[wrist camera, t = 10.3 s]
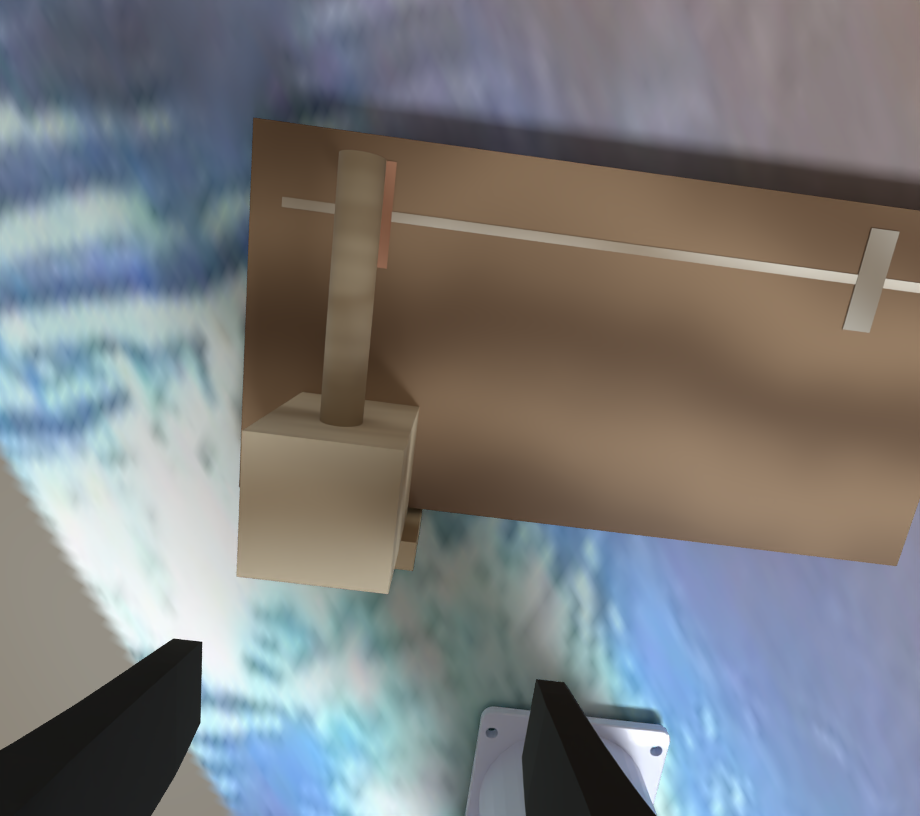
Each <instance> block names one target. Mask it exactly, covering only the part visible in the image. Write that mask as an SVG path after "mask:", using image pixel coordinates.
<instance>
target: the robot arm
mask: <svg viewBox="0 0 920 816" xmlns="http://www.w3.org/2000/svg"><path fill="white" fill-rule="evenodd" d="M201 675H202V642H199V641H190V640H181V639H172V640H171V641H169V642H168V643H166V644H165V645H163V646H162V647H160V648H159V649H157V650H156V651H154V652H153V653H151V654H150V655H148V656H147V657H145V658H144V659H142V660H141V661H139V662H138V663H136V664H135V665H134V666H132V667H131V668H129V669H128V670H126V671H125V672H123V673H122V674H120V675H119V676H117V677H116V678H114V679H113V680H112V681H110V682H109V683H107V684H105V685H104V686H102V687H101V688H100V689H98V690H96V691H95V692H93V693H92V694H90V695H89V696H87V697H86V698H84V699H83V700H81V701H80V702H78V703H77V704H75V705H74V706H72V707H71V708H69V709H67V710H66V711H64V712H62V713H61V714H59V715H58V716H56V717H54V718H53V719H51V720H49V721H48V722H46V723H45V724H43V725H41V726H40V727H38V728H37V729H35V730H33V731H32V732H30V733H28V734H27V735H25V736H23V737H22V738H20V739H19V740H17V741H15V742H14V743H12V744H10V745H9V746H7V747H5V748H3V749H2V750H0V816H151V815H152V813H153V812H154V810H155V808H156V807H157V805H158V803H159V802H160V800H161V798H162V797H163V795H164V793H165V792H166V790H167V789H168V787H169V785H170V783H171V782H172V780H173V778H174V777H175V775H176V773H177V771H178V769H179V767H180V765H181V763H182V761H183V759H184V757H185V755H186V753H187V751H188V748H189V746H190V744H191V742H192V740H193V738H194V735H195V733H196V731H197V729H198V727H199V725H200V717H201ZM489 728H495V730H492V731H490V730H487V729H489ZM669 743H670V736H669V734H668V732H667V730H666V728H665V727H663V726H662V725H658V724H649V723H640V722H631V721H622V720H613V719H604V718H595V717H586V715H585V714H584V712H583V711H582V709H581V708H580V706H579V704H578V703H577V701H576V700H575V698H574V696H573V695H572V693H571V692H570V690H569V688H568V687H567V686H566V684H565V683H564V682H556V681H547V680H538V679H536V683H535V689H534V694H533V699H532V705H531V710H522V709H513V708H504V707H495V706H494V707H488V708H486V709H485V710H484V711H483V712H482V714H481V720H480V726H479V732H478V738H477V744H476V750H475V756H474V762H473V769H472V775H471V781H470V787H469V793H468V799H467V805H466V812H465V816H657V814H656V811H655V809H654V806H653V805H654V801H655V797H656V793H657V789H658V786H659V782H660V778H661V774H662V770H663V766H664V762H665V759H666V755H667V751H668V747H669ZM654 746H657V747H655V748H652V747H654Z"/></svg>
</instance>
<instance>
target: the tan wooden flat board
mask: <svg viewBox="0 0 920 816" xmlns="http://www.w3.org/2000/svg"><path fill="white" fill-rule="evenodd" d="M341 150H357V151H363V152H368V153H372V154H376V155H379V156H381V157H383V158H385V159H386V160H387V163H386V174H385V185H384V196H383V207H382V218H381V229H380V240H379V250H378V261H377V272H376V283H375V294H374V305H373V316H372V327H371V338H370V349H369V360H368V371H367V382H366V393H365V400H370V401H378V402H385V403H393V404H401V405H409V406H417V407H419V415H418V424H417V432H416V441H415V450H414V459H413V467H412V476H411V485H410V493H409V502H408V507H410V508H418V509H426V510H435V511H443V512H451V513H460V514H468V515H476V516H485V517H493V518H501V519H510V520H518V521H526V522H534V523H543V524H551V525H559V526H568V527H576V528H584V529H593V530H601V531H609V532H618V533H626V534H634V535H643V536H651V537H659V538H667V539H676V540H684V541H692V542H701V543H709V544H717V545H726V546H734V547H742V548H751V549H759V550H767V551H775V552H784V553H792V554H800V555H809V556H817V557H825V558H834V559H842V560H850V561H859V562H867V563H875V564H883V565H892V566H897V564H898V561H899V558H900V555H901V552H902V549H903V546H904V543H905V540H906V537H907V534H908V532H909V529H910V526H911V523H912V520H913V517H914V514H915V511H916V508H917V505H918V502H919V500H920V211H918V210H911V209H904V208H896V207H889V206H882V205H875V204H868V203H861V202H853V201H846V200H839V199H832V198H825V197H818V196H811V195H803V194H796V193H789V192H782V191H775V190H768V189H761V188H753V187H746V186H739V185H732V184H725V183H718V182H710V181H703V180H696V179H689V178H682V177H675V176H668V175H660V174H653V173H646V172H639V171H632V170H625V169H617V168H610V167H603V166H596V165H589V164H582V163H575V162H567V161H560V160H553V159H546V158H539V157H532V156H525V155H517V154H510V153H503V152H496V151H489V150H482V149H474V148H467V147H460V146H453V145H446V144H439V143H432V142H424V141H417V140H410V139H403V138H396V137H389V136H381V135H374V134H367V133H360V132H353V131H346V130H339V129H331V128H324V127H317V126H310V125H303V124H296V123H289V122H281V121H274V120H267V119H260V118H253V141H252V167H251V193H250V219H249V245H248V271H247V297H246V323H245V349H244V375H243V401H242V427H241V449H242V430H244V429H245V428H247V427H249V426H250V425H252V424H253V423H255V422H256V421H258V420H259V419H261V418H263V417H264V416H266V415H267V414H269V413H270V412H272V411H273V410H275V409H277V408H278V407H280V406H281V405H283V404H284V403H286V402H288V401H289V400H291V399H292V398H294V397H295V396H297V395H298V394H300V393H302V392H306V393H314V394H322V380H323V366H324V353H325V339H326V325H327V311H328V297H329V283H330V269H331V256H332V242H333V228H334V214H335V200H336V186H337V172H338V159H339V151H341ZM240 475H241V453H240ZM239 487H240V480H239Z"/></svg>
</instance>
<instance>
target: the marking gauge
mask: <svg viewBox="0 0 920 816" xmlns="http://www.w3.org/2000/svg"><path fill="white" fill-rule="evenodd" d="M386 163H387V160H386V159H385V158H383V157H381V156H379V155H376V154H372V153H368V152H363V151H357V150H341V151H339V159H338V172H337V186H336V200H335V214H334V228H333V242H332V256H331V269H330V283H329V297H328V311H327V325H326V339H325V353H324V366H323V380H322V394H314V393H306V392H302V393H300V394H298V395H297V396H295V397H294V398H292V399H291V400H289V401H288V402H286V403H284V404H283V405H281V406H280V407H278V408H277V409H275V410H273V411H272V412H270V413H269V414H267V415H266V416H264V417H263V418H261V419H259V420H258V421H256V422H255V423H253V424H252V425H250V426H249V427H247V428H245V429H244V430H242V449H241V475H240V500H239V526H238V552H237V577H245V578H253V579H262V580H271V581H279V582H288V583H296V584H305V585H314V586H322V587H331V588H340V589H348V590H357V591H366V592H374V593H383V594H388V593H389V589H390V585H391V580H392V576H393V572H394V569H401V570H409V571H413V568H414V562H415V556H416V550H417V544H418V538H419V532H420V526H421V518H422V509H418V508H410V507H408V502H409V493H410V485H411V476H412V467H413V459H414V450H415V441H416V432H417V424H418V415H419V407H417V406H409V405H401V404H393V403H385V402H378V401H370V400H365V393H366V382H367V371H368V360H369V349H370V338H371V327H372V316H373V305H374V294H375V283H376V272H377V261H378V250H379V240H380V229H381V218H382V207H383V196H384V185H385V174H386Z"/></svg>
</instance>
